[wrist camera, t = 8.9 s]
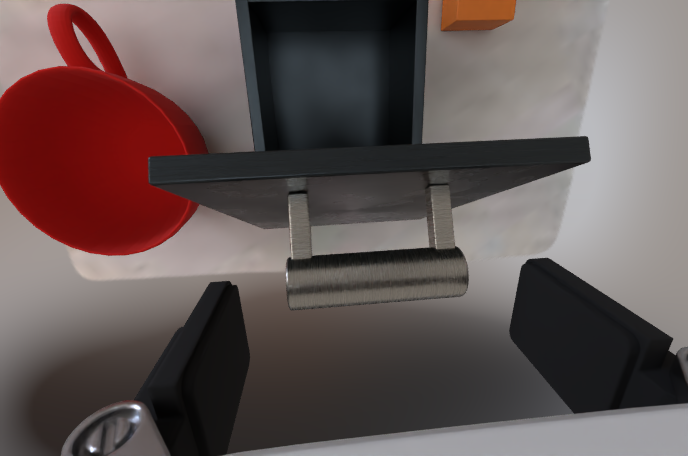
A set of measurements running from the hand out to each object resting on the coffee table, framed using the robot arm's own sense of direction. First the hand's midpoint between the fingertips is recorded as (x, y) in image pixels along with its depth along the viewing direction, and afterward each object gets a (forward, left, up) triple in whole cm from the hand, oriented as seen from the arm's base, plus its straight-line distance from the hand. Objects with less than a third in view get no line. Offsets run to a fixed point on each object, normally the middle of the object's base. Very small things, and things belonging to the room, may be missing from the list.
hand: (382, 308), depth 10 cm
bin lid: (-2, 0, -8) cm, 8 cm away
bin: (-6, 0, -24) cm, 25 cm away
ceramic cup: (-5, -17, -25) cm, 30 cm away
